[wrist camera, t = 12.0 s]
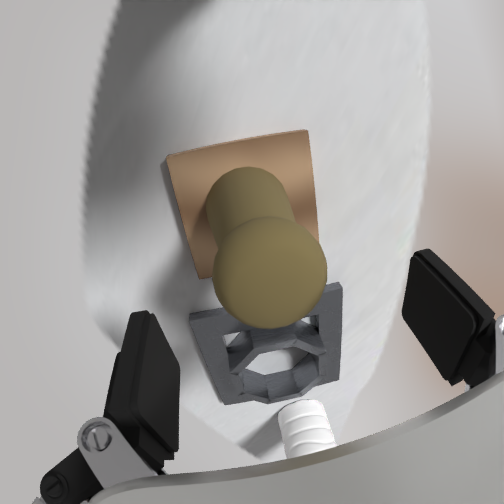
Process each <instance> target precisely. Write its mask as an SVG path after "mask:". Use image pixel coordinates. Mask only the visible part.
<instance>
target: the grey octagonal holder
mask: <svg viewBox="0 0 504 504" xmlns="http://www.w3.org/2000/svg"><path fill="white" fill-rule="evenodd" d="M342 298H343V288H342V286H341V285H340V283H339V282H337V283H333V284H328V285H325V288H324V291H323V293H322V296H321V298H320V300H319V302H318V303H317V304H316V306H315V307H314V308H313V310H312V311H311V312H310V313H308V314H307V315H306V316H304V317H303V318H305V317H309V316H313V315H316V327H314V326H312V325H310V324H307V323H305V322H303V321H301V320H299V321H297V322H295V323H292V324H290V325H288V326H285V327H280V328H274V329H262V328H255V327H252V326H249V325H246V324H243V323H242V322H240V321H238V320H237V319H236V318H234V317H233V316H231V315H230V314H229V313H227V311H226V310H225V309H224V307H223V308H218V309H213V310H208V311H203V312H197V313H192V314H190V317H189V322H190V324H191V327H192V329H193V332H194V334H195V337H196V339H197V342H198V344H199V347H200V349H201V352H202V354H203V357H204V359H205V361H206V364H207V366H208V369H209V371H210V373H211V376H212V378H213V380H214V383H215V385H216V387H217V389H218V392H219V394H220V396H221V398H222V401H223V403H224V405H230V404H236V403H242V402H247V401H253V400H255V401H258V402H262V403H265V404H270V403H275V402H280V401H284V400H289V399H293V398H297V397H301V396H303V395H304V394H306V393H307V392H308V391H309V390H310V389H312V388H313V387H315V386H319V385H322V384H326V383H330V382H333V381H337V380H339V373H340V357H341V336H342ZM236 332H240V334H239V335H238V336H237V337H236V338H235V339H234V340H233V341H232V343H231V344H230V345H229V346H228V347H227V345H226V342H225V339H224V336H223V335H226V334H231V333H236ZM293 346H295V347H297V348H300V349H302V350H305V351H307V352H309V354H308V355H307V356H306V357H305V358H304V359H302V360H301V361H300V362H299V363H298V364H297V365H296V366H295V367H294V368H293V369H291V370H287V371H283V372H278V373H274V374H269V375H262V374H259V373H256V372H253V371H250V370H248V369H245V368H246V367H247V366H248V365H249V364H250V363H251V362H252V361H253V360H254V359H255V358H256V357H257V356H258V355H259V354H261V353H266V352H271V351H275V350H280V349H284V348H289V347H293Z"/></svg>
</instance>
